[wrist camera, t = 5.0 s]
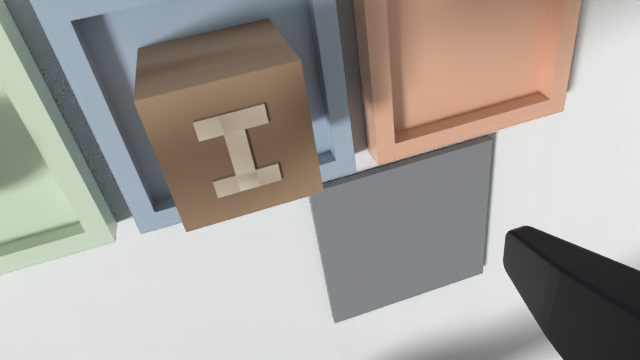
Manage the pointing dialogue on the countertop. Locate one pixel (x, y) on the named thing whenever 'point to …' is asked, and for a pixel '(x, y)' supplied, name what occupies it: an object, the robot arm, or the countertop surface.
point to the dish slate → (171, 24)
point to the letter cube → (228, 121)
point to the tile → (403, 227)
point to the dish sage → (41, 168)
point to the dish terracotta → (459, 68)
